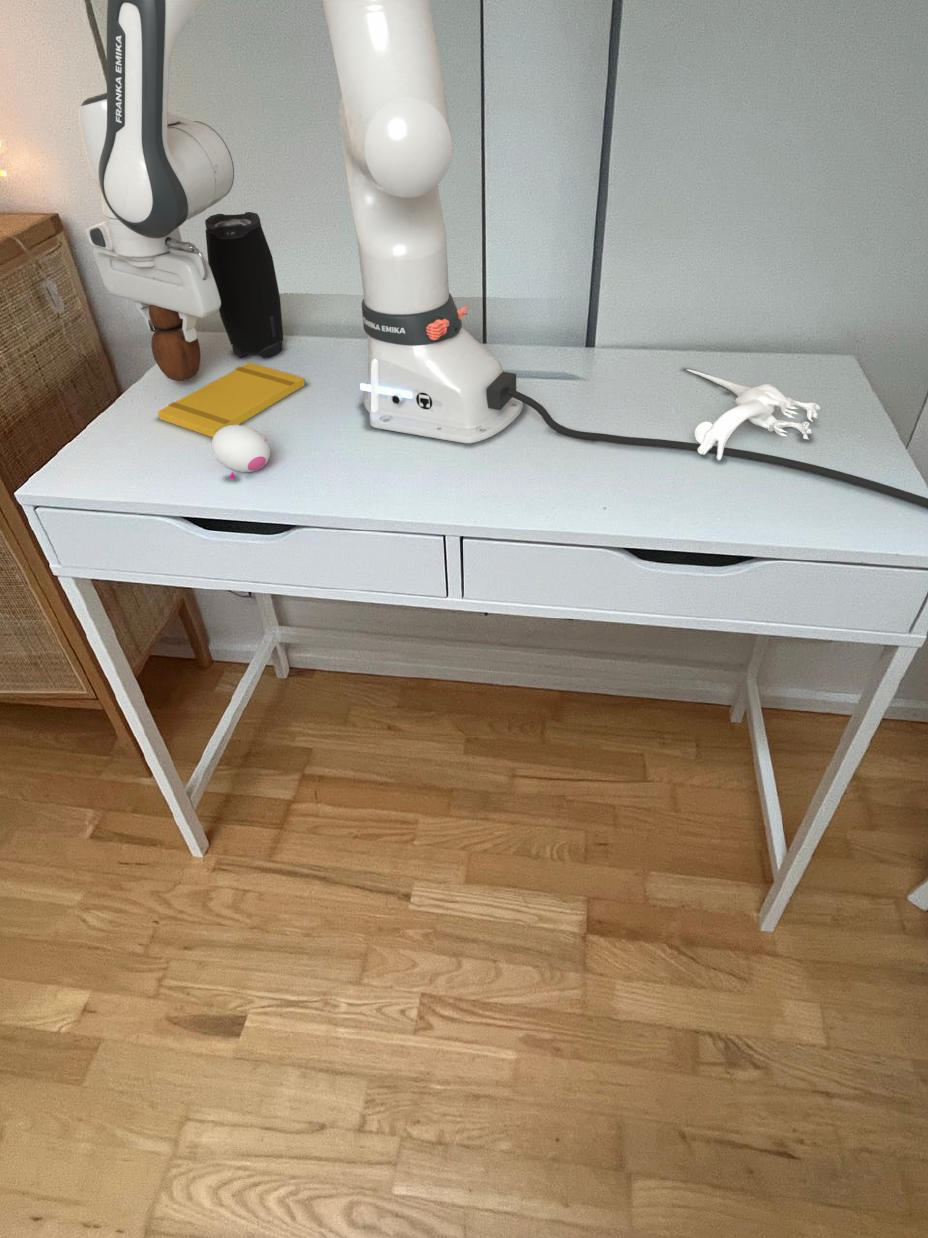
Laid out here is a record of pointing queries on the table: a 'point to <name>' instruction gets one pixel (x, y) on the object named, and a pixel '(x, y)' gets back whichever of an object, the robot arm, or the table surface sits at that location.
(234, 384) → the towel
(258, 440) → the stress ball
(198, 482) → the table surface
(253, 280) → the portable speaker
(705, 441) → the dinosaur
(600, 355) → the table surface
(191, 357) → the wooden figurine
